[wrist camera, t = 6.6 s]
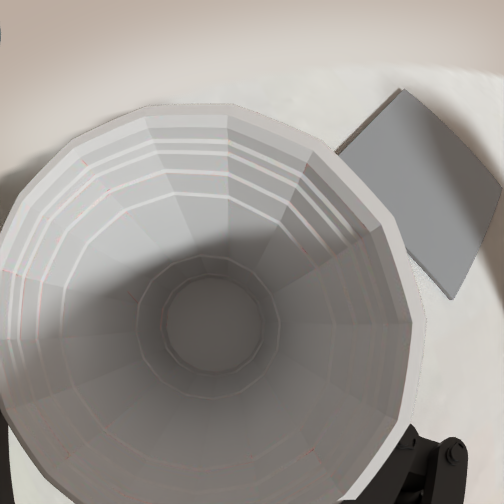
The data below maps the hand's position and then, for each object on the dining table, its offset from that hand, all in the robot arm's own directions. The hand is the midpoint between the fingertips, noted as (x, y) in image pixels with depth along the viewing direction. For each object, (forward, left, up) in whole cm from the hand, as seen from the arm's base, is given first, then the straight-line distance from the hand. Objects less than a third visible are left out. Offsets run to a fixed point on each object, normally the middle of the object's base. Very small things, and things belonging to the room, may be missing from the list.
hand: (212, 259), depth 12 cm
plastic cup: (+1, -3, -5) cm, 6 cm away
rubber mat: (+7, +19, -8) cm, 22 cm away
